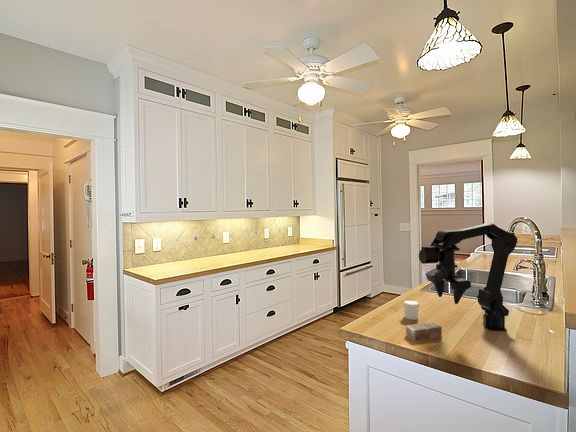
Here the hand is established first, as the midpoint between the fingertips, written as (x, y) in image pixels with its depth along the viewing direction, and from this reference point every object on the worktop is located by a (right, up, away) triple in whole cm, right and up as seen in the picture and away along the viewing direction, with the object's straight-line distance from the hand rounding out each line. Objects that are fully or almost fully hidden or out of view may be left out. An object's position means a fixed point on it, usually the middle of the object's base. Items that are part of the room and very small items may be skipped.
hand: (448, 300), depth 123 cm
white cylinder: (-8, -12, +16) cm, 22 cm away
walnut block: (-6, -11, -2) cm, 13 cm away
